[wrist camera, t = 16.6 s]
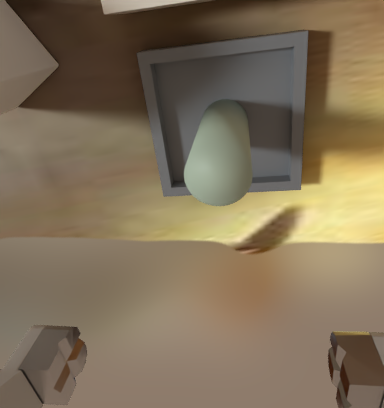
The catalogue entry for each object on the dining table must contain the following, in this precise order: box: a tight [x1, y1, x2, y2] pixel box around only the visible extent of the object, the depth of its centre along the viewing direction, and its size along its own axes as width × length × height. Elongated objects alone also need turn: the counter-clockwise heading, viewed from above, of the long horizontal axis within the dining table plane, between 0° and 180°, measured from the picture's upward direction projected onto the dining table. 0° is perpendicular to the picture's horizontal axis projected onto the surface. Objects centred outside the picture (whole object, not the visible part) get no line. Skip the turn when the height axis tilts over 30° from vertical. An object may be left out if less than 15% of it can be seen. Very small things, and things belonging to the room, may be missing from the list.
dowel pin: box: [184, 99, 253, 206], centre depth 26 cm, size 4×4×12 cm
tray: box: [137, 30, 308, 197], centre depth 31 cm, size 14×14×2 cm
